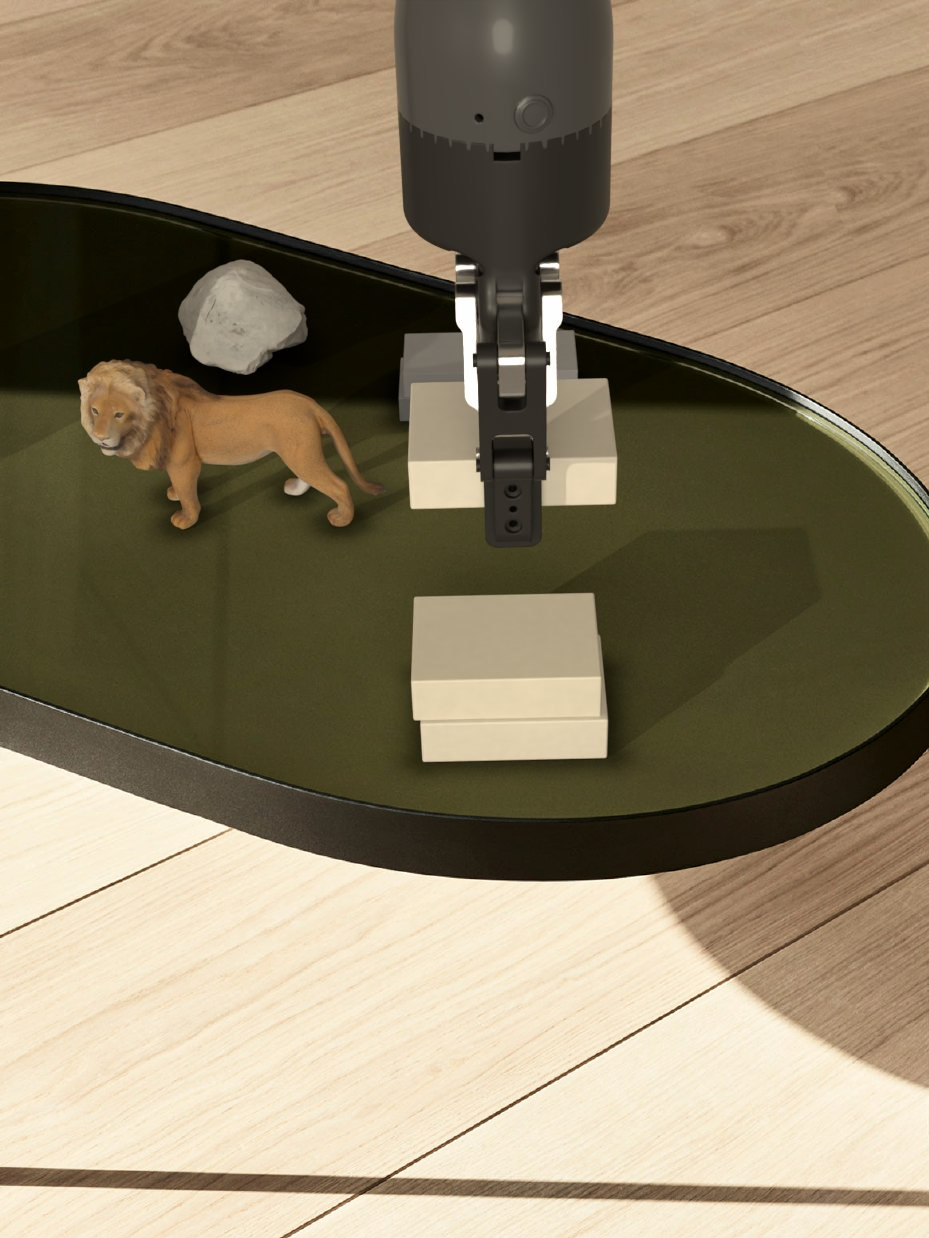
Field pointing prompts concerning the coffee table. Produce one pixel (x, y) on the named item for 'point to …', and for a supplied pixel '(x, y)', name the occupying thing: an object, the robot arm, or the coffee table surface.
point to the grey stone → (240, 317)
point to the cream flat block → (452, 436)
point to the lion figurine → (212, 433)
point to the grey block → (459, 361)
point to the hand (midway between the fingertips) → (511, 494)
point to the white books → (508, 677)
